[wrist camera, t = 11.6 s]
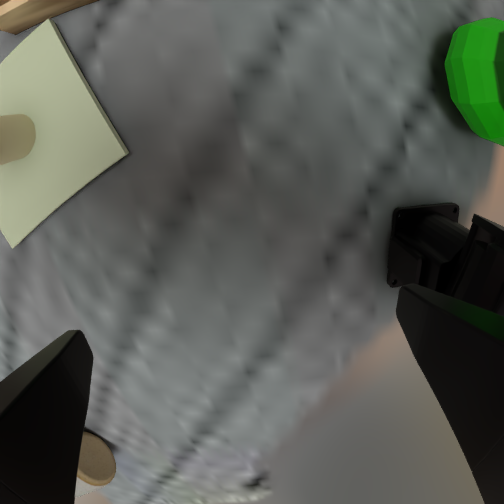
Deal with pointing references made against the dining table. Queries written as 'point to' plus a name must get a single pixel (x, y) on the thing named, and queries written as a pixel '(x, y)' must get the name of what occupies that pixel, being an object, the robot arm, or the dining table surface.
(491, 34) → the plastic bottle
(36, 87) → the beige peg on base
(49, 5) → the oak box
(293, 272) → the dining table surface
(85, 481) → the ceramic mug
